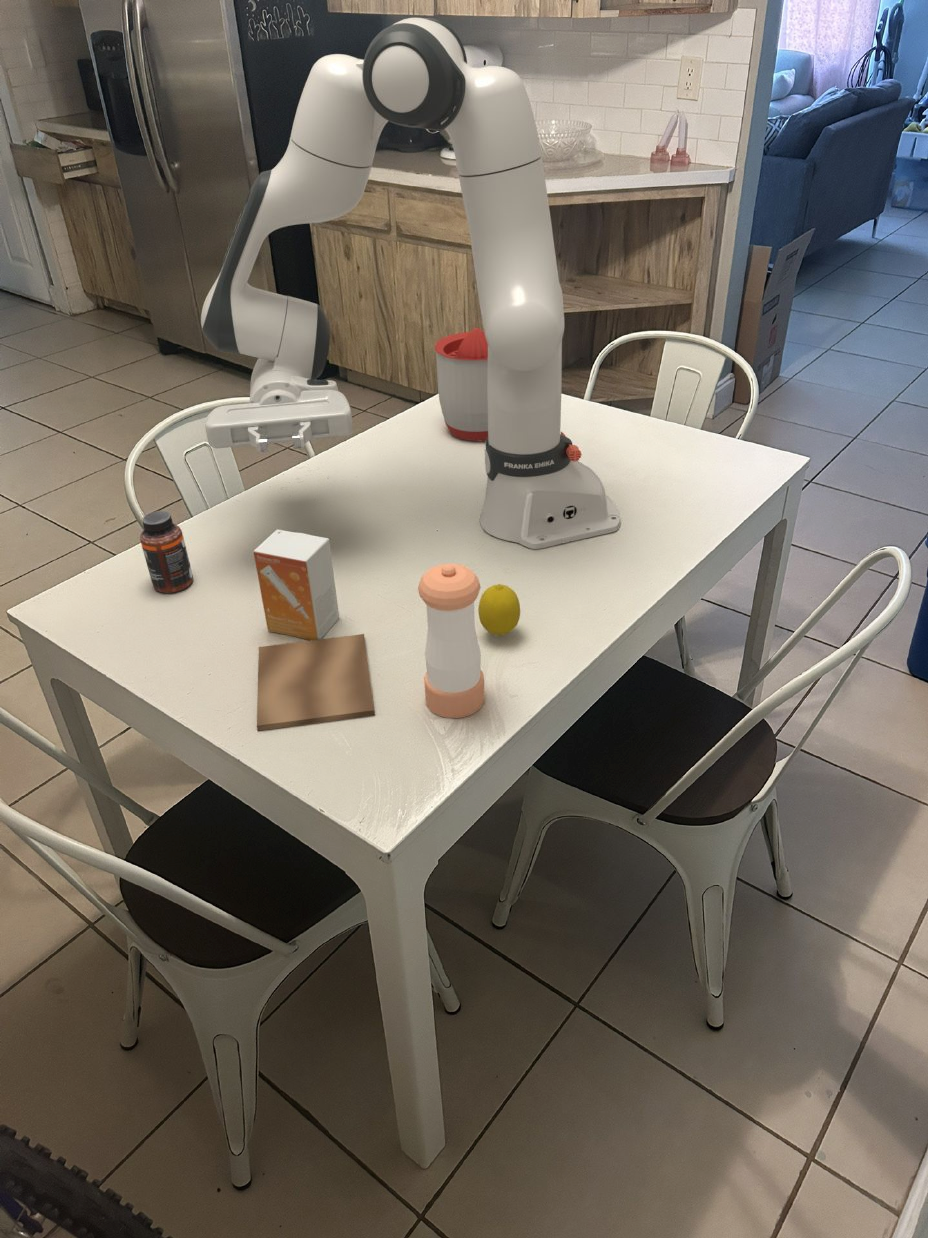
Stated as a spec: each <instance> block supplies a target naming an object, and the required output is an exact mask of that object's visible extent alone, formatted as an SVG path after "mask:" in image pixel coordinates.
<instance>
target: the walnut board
mask: <svg viewBox="0 0 928 1238" xmlns="http://www.w3.org/2000/svg"><path fill="white" fill-rule="evenodd" d="M365 638H366V637H365V633H360V634H351V635H344V636H337V637H329V638H327V637H326V638H322V639H319V640H305V641H304V640H303V641H297V642H288V643H278V644H271V645H264V646H258V661H257V662H258V665H257V666H258V667H257V668H258V670H257V671H258V672H257V702H256V703H257V705H256V728H257V732H258V731H261V732H262V731H266V730H267V731H268V730H275V729H282V728H283V729H284V728H288V727H297V726H305V725H311V724H316V723H318V724H320V723H326V722H334V721H340V720H348V719H349V720H350V719H356V718H365V717H370V716H371V717H372V716H375V715H376V714H375V706H374V700H373V692H372V682H371V677H370V675H371V674H370V668H369V667H370V666H369V660H368V653H367V646H366V639H365Z"/></svg>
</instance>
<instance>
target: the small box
mask: <svg viewBox="0 0 928 1238" xmlns="http://www.w3.org/2000/svg"><path fill="white" fill-rule="evenodd" d="M330 544H331V543H330V539H329V538H328V537H322V536H317V535H312V534H308V533H303V532H296V531H295V532H294V531H290V530H289V531H288V530H283V529H276V530H275V531H274V532H273V533H271V534H270V535H269V536H268V537H267V538H265V540H264V541H263V542H261V543H260V544H259V545H258V546H257V547H256V548H255V549H254V550H253V556H254V562H255V569H256V572H257V579H258V584H259V590H260V594H261V601H262V605H263V612H264V616H265V622H266V623H265V624H266V627H267V631H268V632H271V633H276V634H281V635H286V636H290V637H294V638H295V637H296V638H298V639H299V638H300V639H303V640H304V639H305V640H307V641H311V640H319V639H323V637H324V636H325V635H326V634H327V633H328V632H329V630H330V629H331V628H332V627H333V626H334V625H335V624H336V622H337V621H338V620H339V619H340V612H339V604H338V596H337V590H336V582H335V574H334V567H333V560H332V551H331V546H330Z"/></svg>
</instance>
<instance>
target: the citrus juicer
mask: <svg viewBox="0 0 928 1238" xmlns="http://www.w3.org/2000/svg"><path fill="white" fill-rule="evenodd" d="M433 348H434V351H435V355H436V374H437V391H438V399H439V403H440V404H439V405H440V410H441V413H442V415H443V419H444V423H445V426H446V427H447V429H448V431H449V433H450V434H451V435H453V436H454V437H456V438H459V439H461V440H467V441H480V442H486V439H487V437H488V401H487V382H488V343H487V340H486V337H485V333H484V330H481V329H480V328H478V327H474V328H473V329H472V330H471V331H466V332H465V331H464V332H459V333H458V332H457V333H454V334H450V335H447V336H445V337H442V338H440V339H439V340H437V341H436V343H435V344H434V347H433Z"/></svg>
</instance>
